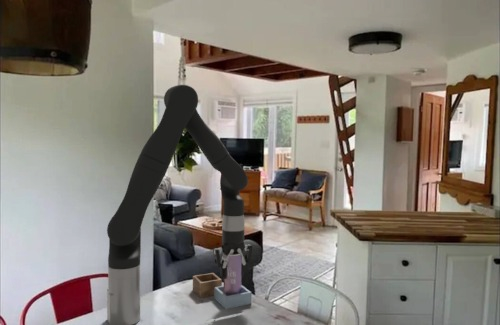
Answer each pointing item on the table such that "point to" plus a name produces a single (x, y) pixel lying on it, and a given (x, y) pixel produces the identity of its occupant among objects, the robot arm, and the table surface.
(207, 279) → the walnut box
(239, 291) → the beverage can
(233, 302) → the tray
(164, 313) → the table surface
